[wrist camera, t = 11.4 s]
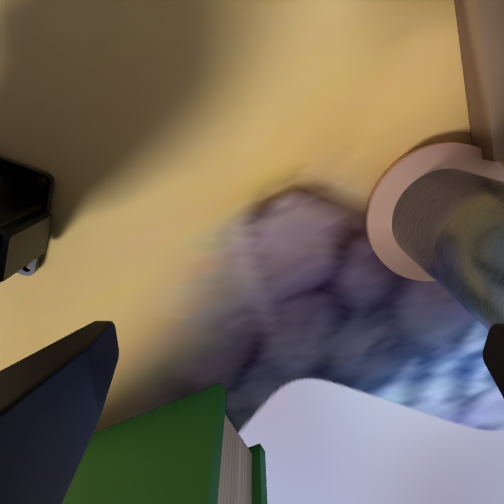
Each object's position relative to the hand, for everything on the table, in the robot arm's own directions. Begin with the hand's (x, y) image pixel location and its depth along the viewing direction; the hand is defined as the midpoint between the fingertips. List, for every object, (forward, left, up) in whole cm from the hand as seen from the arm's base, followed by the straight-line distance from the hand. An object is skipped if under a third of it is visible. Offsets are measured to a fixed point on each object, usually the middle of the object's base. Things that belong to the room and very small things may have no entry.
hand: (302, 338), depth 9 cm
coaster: (+9, +3, -13) cm, 16 cm away
